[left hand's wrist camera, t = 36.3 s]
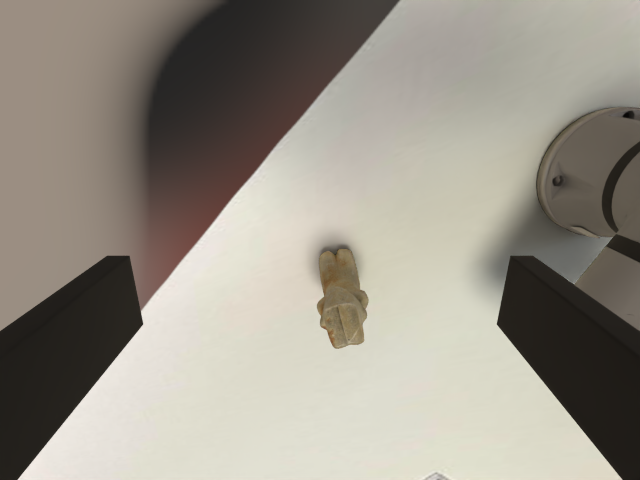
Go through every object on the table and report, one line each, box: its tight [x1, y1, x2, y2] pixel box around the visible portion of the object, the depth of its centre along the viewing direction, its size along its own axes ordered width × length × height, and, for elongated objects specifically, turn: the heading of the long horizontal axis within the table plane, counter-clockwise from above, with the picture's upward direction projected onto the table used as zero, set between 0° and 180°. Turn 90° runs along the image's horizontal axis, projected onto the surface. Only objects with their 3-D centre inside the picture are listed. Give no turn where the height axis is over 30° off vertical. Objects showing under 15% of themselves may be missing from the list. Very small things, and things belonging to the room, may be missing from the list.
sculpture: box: [317, 249, 368, 349], centre depth 42 cm, size 6×7×15 cm
